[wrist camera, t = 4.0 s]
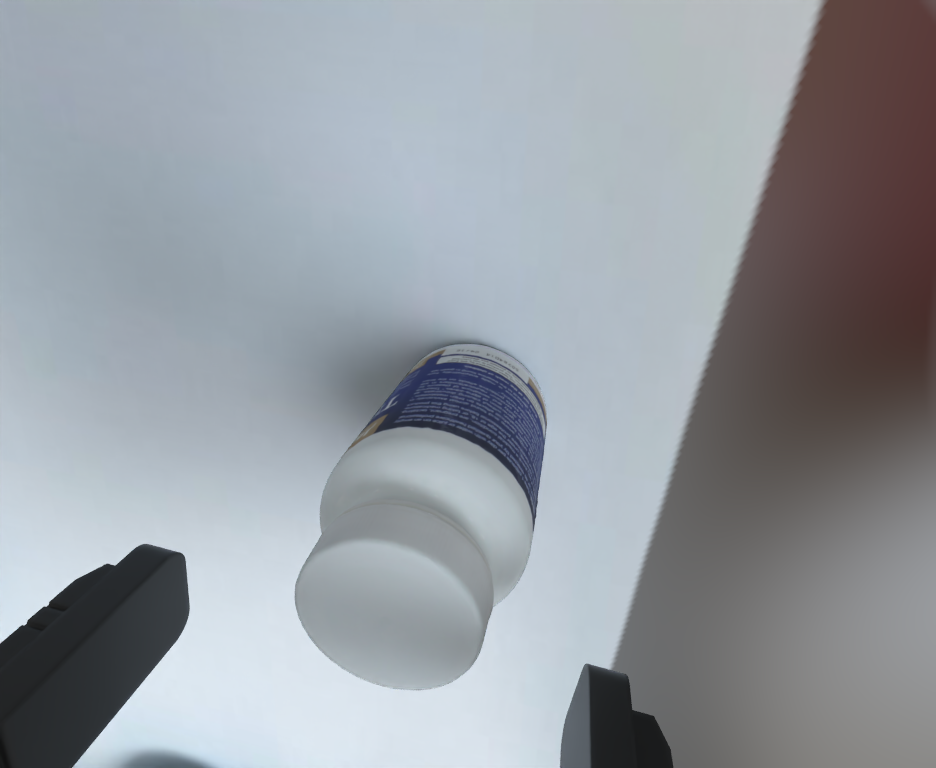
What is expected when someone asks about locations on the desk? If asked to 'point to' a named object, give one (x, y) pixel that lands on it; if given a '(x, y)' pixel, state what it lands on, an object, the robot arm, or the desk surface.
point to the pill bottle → (427, 521)
